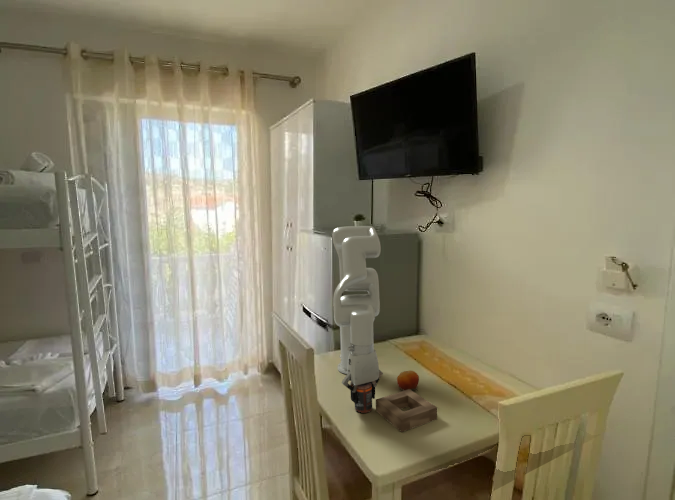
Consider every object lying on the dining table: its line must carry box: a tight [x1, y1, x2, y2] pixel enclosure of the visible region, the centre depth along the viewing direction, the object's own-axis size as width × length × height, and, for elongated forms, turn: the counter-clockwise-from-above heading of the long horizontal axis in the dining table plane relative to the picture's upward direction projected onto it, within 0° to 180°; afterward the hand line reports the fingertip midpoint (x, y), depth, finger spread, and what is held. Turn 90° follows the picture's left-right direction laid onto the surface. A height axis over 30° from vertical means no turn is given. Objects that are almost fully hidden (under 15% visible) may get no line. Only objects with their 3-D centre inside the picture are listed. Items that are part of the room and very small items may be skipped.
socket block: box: [375, 389, 438, 433], centre depth 123 cm, size 14×14×4 cm
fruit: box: [396, 370, 420, 392], centre depth 140 cm, size 8×8×8 cm
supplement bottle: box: [354, 382, 373, 414], centre depth 126 cm, size 6×6×11 cm
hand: (363, 399), depth 127 cm, fingers closed on supplement bottle, 6 cm apart
